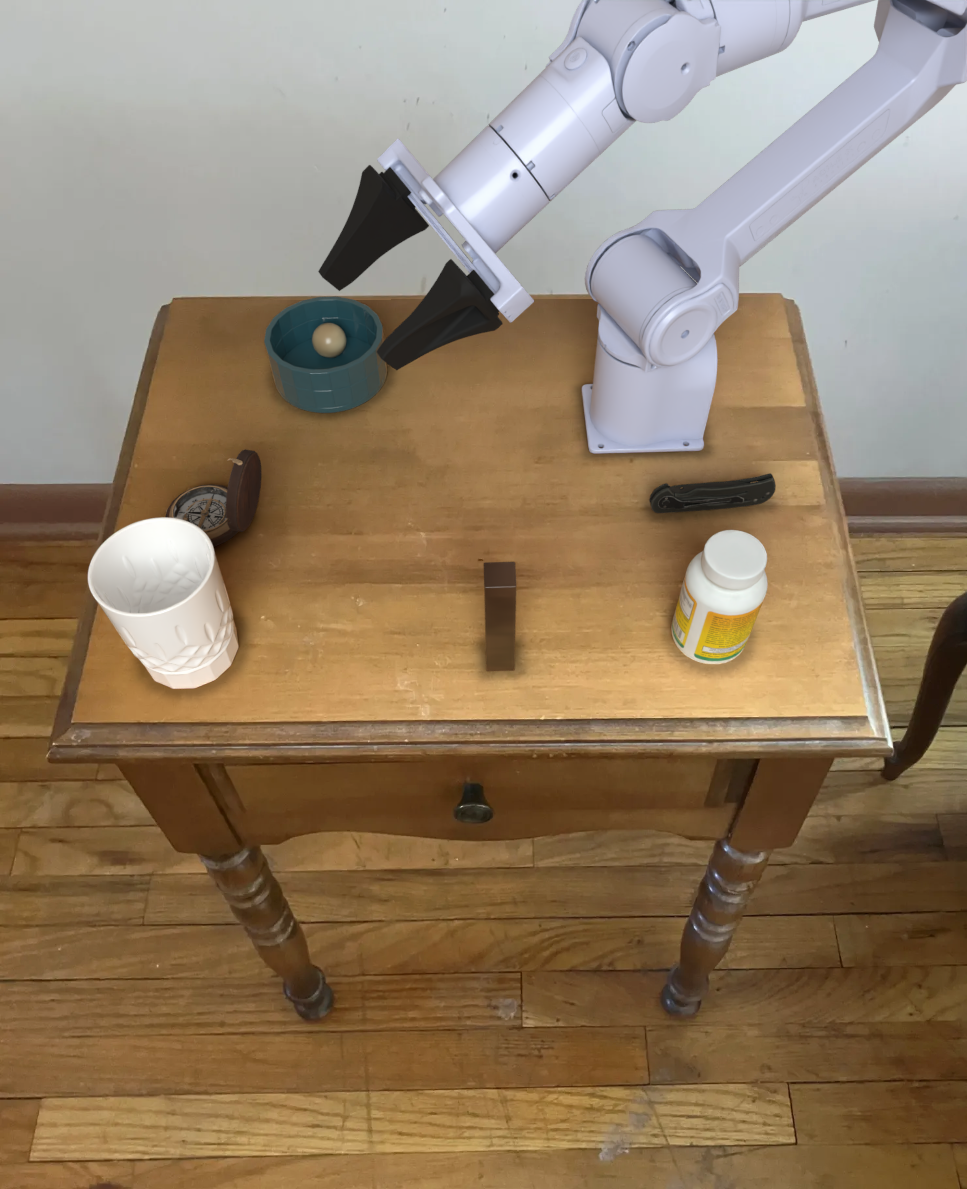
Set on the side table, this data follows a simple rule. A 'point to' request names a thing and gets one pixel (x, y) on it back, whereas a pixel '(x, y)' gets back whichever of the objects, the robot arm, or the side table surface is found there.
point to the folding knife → (712, 495)
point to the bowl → (321, 378)
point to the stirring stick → (500, 615)
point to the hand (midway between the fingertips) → (356, 320)
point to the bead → (329, 340)
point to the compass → (223, 501)
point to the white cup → (167, 600)
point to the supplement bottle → (720, 598)
